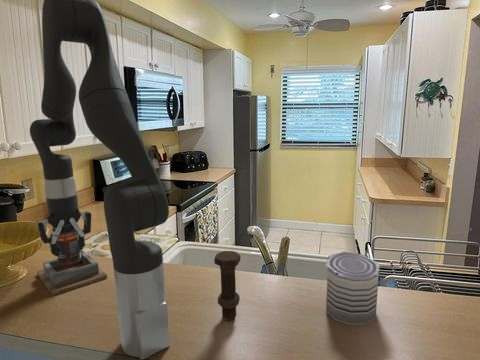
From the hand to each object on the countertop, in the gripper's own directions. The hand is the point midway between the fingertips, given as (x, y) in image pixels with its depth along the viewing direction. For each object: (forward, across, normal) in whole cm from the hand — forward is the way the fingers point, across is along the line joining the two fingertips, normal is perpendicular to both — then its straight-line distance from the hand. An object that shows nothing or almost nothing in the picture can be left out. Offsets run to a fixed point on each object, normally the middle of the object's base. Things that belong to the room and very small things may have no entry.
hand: (68, 251), depth 100 cm
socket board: (+7, 0, 0) cm, 7 cm away
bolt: (+8, +20, -46) cm, 51 cm away
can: (+8, +42, -63) cm, 76 cm away
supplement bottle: (+3, 0, 0) cm, 3 cm away
